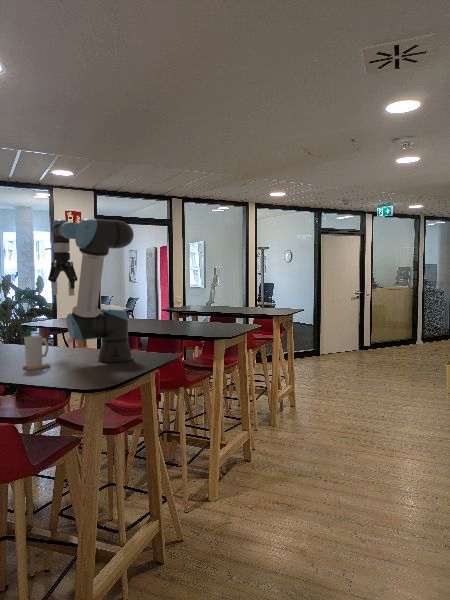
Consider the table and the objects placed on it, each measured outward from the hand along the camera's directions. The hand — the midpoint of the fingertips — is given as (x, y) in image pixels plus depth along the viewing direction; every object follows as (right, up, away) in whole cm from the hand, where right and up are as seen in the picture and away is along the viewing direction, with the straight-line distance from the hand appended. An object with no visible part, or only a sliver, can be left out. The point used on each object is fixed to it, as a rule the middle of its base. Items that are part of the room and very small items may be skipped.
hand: (63, 295), depth 228 cm
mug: (+1, -30, -33) cm, 44 cm away
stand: (0, -31, -33) cm, 45 cm away
